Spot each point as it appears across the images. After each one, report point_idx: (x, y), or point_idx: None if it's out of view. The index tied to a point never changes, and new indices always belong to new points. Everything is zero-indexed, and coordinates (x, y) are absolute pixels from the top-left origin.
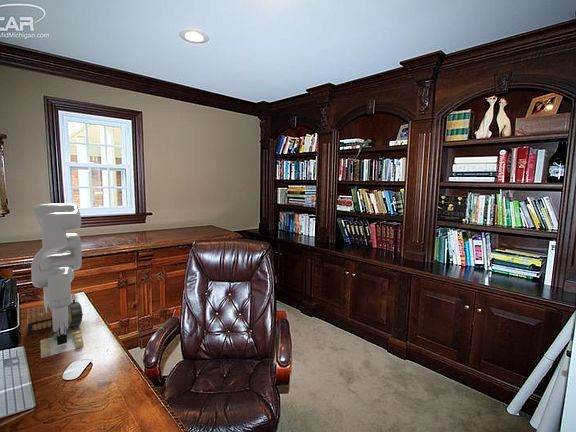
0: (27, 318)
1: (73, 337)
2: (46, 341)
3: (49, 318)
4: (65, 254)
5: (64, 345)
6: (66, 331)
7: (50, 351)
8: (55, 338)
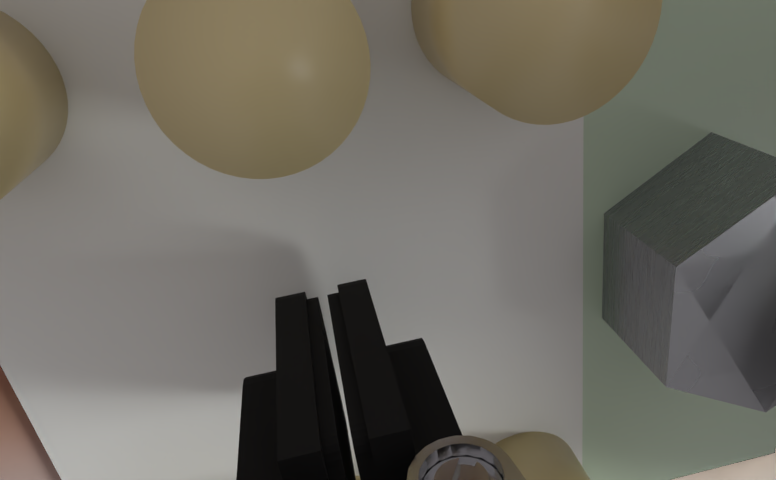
0: None
1: None
2: (457, 69)
3: None
4: None
5: None
6: (761, 394)
7: (131, 161)
8: (686, 181)
